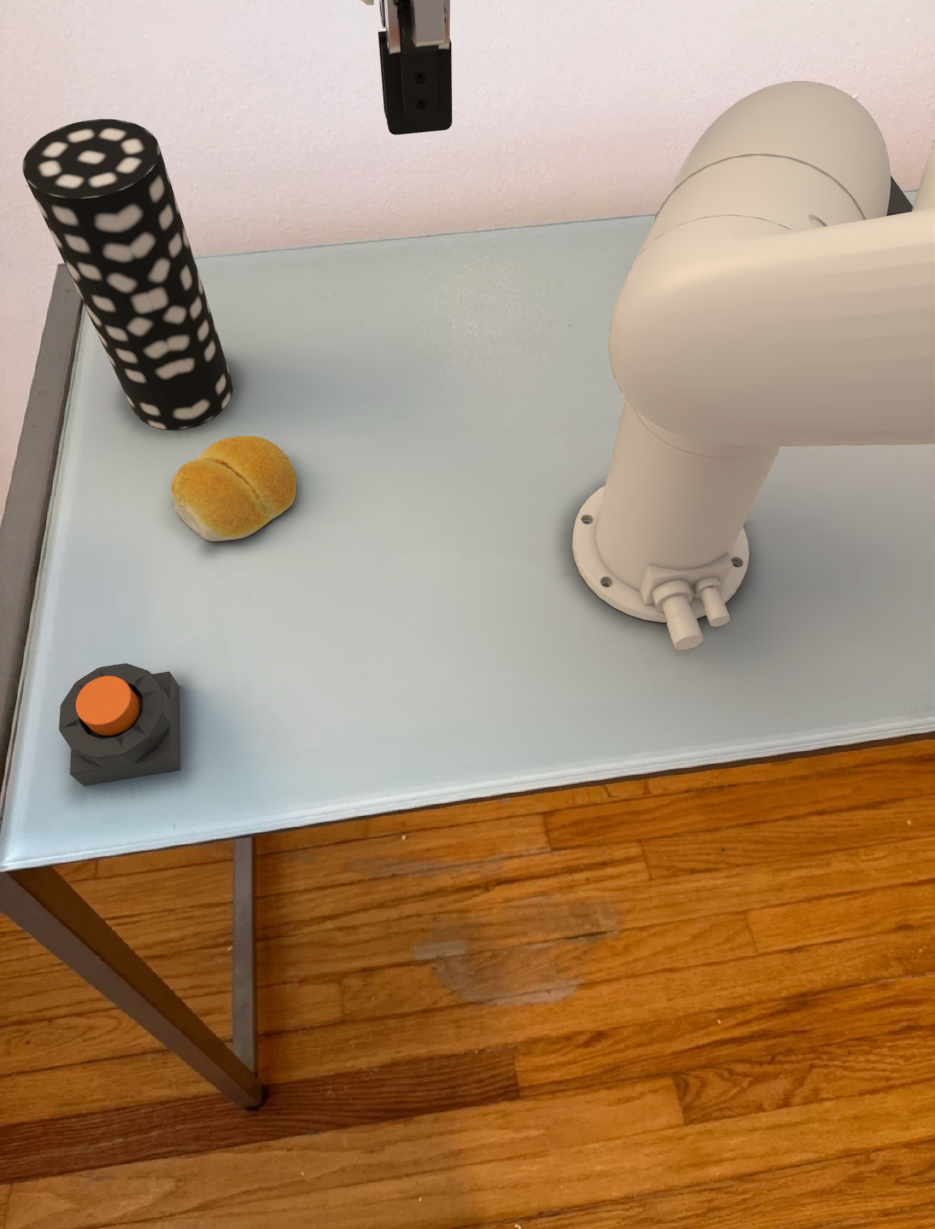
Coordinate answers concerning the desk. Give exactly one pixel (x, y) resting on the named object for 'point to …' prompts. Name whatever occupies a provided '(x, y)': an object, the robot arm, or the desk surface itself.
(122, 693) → the button
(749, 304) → the robot arm
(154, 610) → the desk surface
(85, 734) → the control block
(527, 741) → the desk surface
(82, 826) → the desk surface
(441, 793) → the desk surface
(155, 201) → the spotted tube
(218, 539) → the bread roll
